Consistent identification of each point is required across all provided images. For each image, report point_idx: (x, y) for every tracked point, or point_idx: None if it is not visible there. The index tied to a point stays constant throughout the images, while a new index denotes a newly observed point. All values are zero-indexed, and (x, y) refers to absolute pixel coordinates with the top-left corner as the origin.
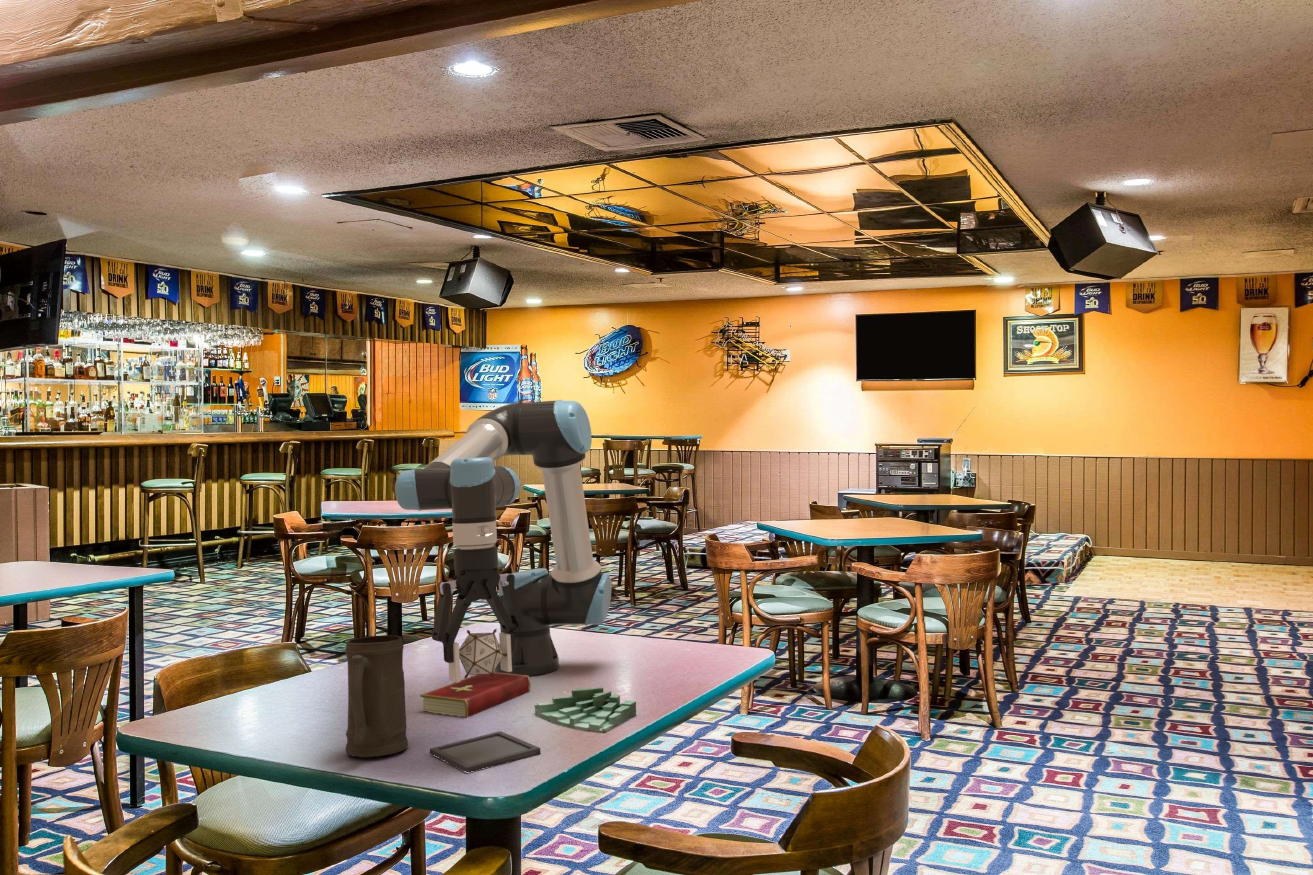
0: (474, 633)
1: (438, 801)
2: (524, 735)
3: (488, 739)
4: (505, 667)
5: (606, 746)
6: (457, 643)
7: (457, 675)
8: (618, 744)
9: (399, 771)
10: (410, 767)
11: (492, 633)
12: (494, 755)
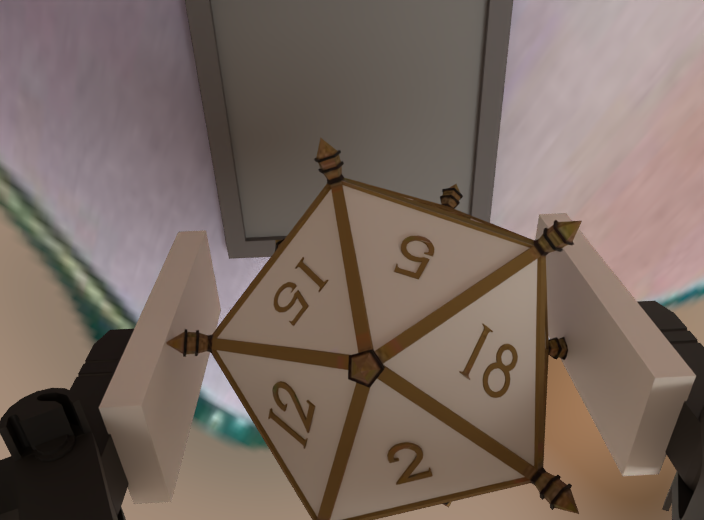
0: (404, 397)
1: None
2: (580, 14)
3: (432, 2)
4: None
5: (645, 299)
6: (161, 494)
7: None
8: (678, 305)
9: (39, 86)
10: (83, 72)
11: (517, 485)
12: None
